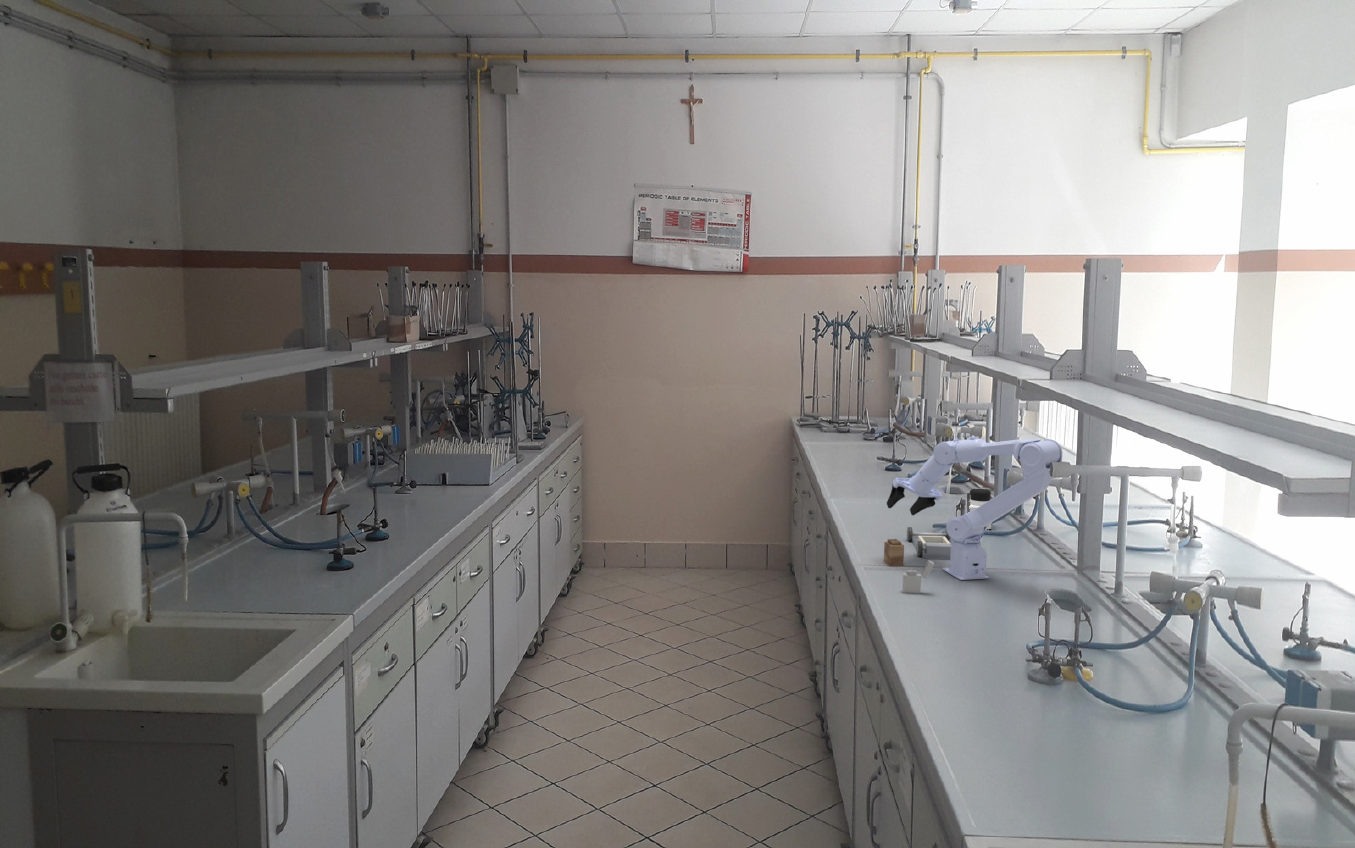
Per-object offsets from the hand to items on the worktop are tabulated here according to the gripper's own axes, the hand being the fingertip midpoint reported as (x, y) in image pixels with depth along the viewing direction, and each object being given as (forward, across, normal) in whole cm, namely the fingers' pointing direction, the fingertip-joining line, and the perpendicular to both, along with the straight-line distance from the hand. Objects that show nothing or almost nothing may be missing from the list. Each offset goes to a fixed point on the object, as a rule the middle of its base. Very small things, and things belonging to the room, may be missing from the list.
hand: (900, 509), depth 262 cm
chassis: (+9, -18, +1) cm, 20 cm away
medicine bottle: (+13, -44, -19) cm, 50 cm away
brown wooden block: (+8, 0, +13) cm, 15 cm away
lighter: (-3, +7, +33) cm, 34 cm away
